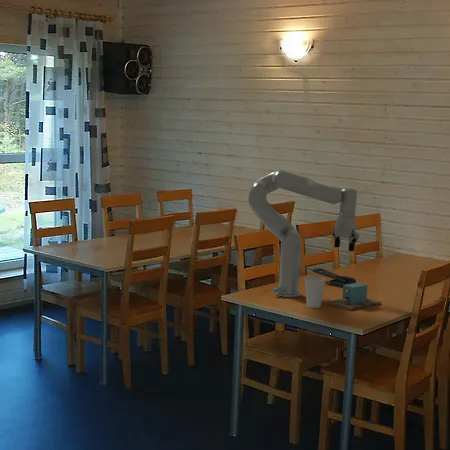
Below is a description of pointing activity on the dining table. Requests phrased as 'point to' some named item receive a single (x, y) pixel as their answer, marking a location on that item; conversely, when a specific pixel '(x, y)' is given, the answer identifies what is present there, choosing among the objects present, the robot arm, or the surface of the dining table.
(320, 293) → the foam cup
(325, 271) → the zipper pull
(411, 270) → the dining table surface
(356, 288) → the cabinet
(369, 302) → the board
